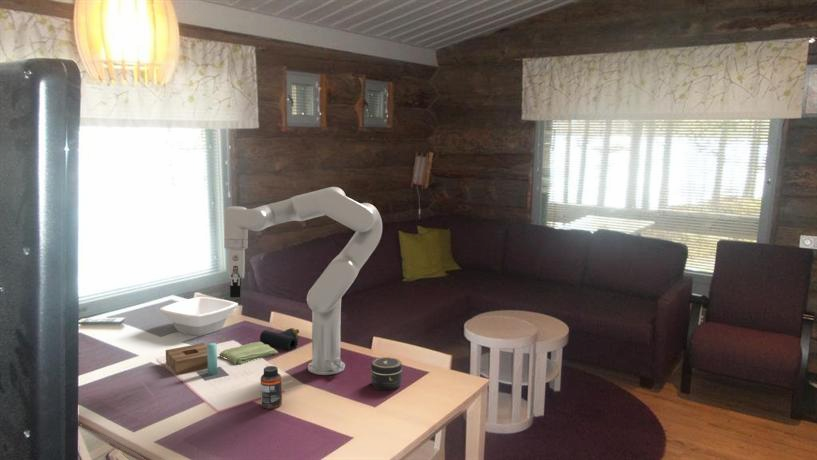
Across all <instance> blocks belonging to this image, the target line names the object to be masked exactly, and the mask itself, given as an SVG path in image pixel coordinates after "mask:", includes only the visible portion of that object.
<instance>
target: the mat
mask: <svg viewBox="0 0 817 460" xmlns="http://www.w3.org/2000/svg"><path fill="white" fill-rule="evenodd" d="M196 373H197V374H198V375H199V376H200V378H202V380H203V381H210V380H214V379H221V378H225V377H228V376H230V373H227V372H226V370H224V369H223V368H222V367H221V366H217V374H216V375H208V368H207V369H203V370H198V371H196Z"/></svg>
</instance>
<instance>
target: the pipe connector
mask: <svg viewBox="0 0 817 460" xmlns="http://www.w3.org/2000/svg"><path fill="white" fill-rule="evenodd" d="M299 333H300V329H298V328H297V329H295V328H292V327H291V328H288V329H285V330H284V331H281V332H274V331H271V330H267V329H265V330H263V331H261V333H260V335H259V342H262V343H263V344H265V345H269V346H271V347H277V348H279V349H284V350H286V351H289V352H290V351H294V350H296V349H297V346H298V343H299V340H300V336H299V335H298V334H299Z"/></svg>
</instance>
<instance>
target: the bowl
mask: <svg viewBox="0 0 817 460" xmlns="http://www.w3.org/2000/svg"><path fill="white" fill-rule="evenodd" d="M237 306H239V303H238V302H235V301H231V300H226V299H222V298H214V297H207V296H206V297H205V296H197V297H192V298H187V299H184V300H180V301H175V302H173V303H169V304H168V305H167V304H166V305H164V306H162V307H159V309H158V310H159V311H160V313H162V315H164V316H165V317H166V318H167V319H168V320H170V322H172V324H173V325H174V327H175V329H176V331H177V333H180V334H184V335H189V336H193V337H194V336H196V337H203V336H206V335H210V334H211V333H215V332H216V331H219V330H221V329H223V327H224V325H225V324H226V320H227V319H228V317H230V315H231V314H232V312H233V311H234V310H235V309H236V307H237Z"/></svg>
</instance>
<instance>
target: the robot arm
mask: <svg viewBox="0 0 817 460" xmlns="http://www.w3.org/2000/svg"><path fill="white" fill-rule="evenodd" d="M324 216H327V217H329V218H330V219H332V220H334V221H336V222H337V223H340V224H341V225H343V226H345V227H347V228H349V229H351V230H352V231H354V232H355V233H354V234H353V236H351V238H350V240H349V241H348V242H347V244H346V245H345V246H344V248H343V249H342V250H341V251H340V252H339V254H338V255H336V256H335V258H333V259H332V260H331V262H330V263H329V264H328V265H327V267H326V268H325V269H324V271H323V272H322V273H321V274H320V276H319V277H318V278H317V279H316V281H315V282H314V283H313V285H312V286H311V288H310V289H309V290H308V292H307V295H306V303H307V305H308V308H309V309H310V310H311V311H312V312H311V313H312V315H311V318H312V319H311V320H312V321H311V323H312V324H311V333H312V334H311V340H312V341H311V343H312V344H311V347H312V348H311V352H312V357H311V358H312V361H311V362H310V363H308V365H307V370H308V372H310V373H311V374H314V375H318V376H319V375H320V376H331V375H335V374H339V373H342V372H344V371H345V369H346V363H344V361H342V359H341V325H342V323H341V318H342V317H341V314H342V312H341V311H342V309H341V308H342V297H343V296H344V295H345V293H346V292H347V291H348V289H349V288H350V287H351V286H352V284H353V283H354V281H355V280H356V278H357V277H358V274H359V272H360V270H361V269H362V267H363V266H364V265H365V263H366V262H367V261H368V260H369V258H370V256H371V255H372V254H373V252H374V251H375V250H376V248H377V246H378V245H379V243H380V241H381V238H382V234H383V222H382V221H383V220H382V217H381V214H380V212H379V210H378V209H377V207H376V206H374V205H373V204H371V203H368V202H363V203H360V202H358V201H356V200H354V199H352V198H350V197H348V196H346V193H345V191H344V190H343V189H341V188H340V187H337V186H330V187H326V188H322V189H319V190H314V191H310V192H306V193H303V194H299V195H294V196H291V197H290V198H288V199H284V200H280V201H277V202H272V203H268V204H264V205H261V206H257V207H254V208H247V207H245V206H241V205H240V206H239V205H238V206H234V205H233V206H227V207H226V208H225V209H224V229H223V230H224V233H223V234H224V237H223V238H224V239H223V241H224V243H223V244H224V245H223V246H224V247H223V248H224V249H225V250H227V267H228V269H227V271H228V277H229V279H230V286H229V297H230V298H240V297H241V285H242V282H241V281H242V279H244V278H245V268H246V265H245V259H246V257H245V256H246V255H245V254H246V253H245V250H246V249H248V246H249V243H248V242H249V239H248V238H249V235H248V234H249V231H253V232H261V231H263V230H265V229H267V228H270V227H272V226H276V225H280V224H283V223H288V222H293V221H295V222H296V221H297V222H304V221H307V220H311V219H315V218H319V217H324Z"/></svg>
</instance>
